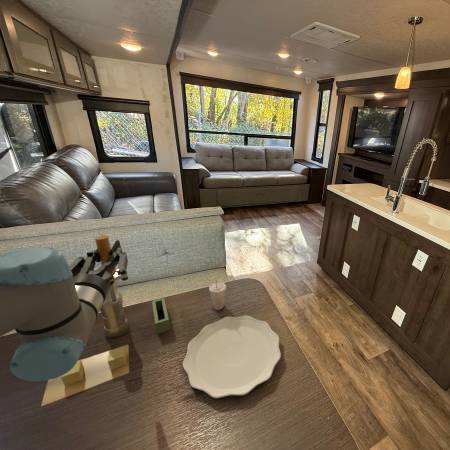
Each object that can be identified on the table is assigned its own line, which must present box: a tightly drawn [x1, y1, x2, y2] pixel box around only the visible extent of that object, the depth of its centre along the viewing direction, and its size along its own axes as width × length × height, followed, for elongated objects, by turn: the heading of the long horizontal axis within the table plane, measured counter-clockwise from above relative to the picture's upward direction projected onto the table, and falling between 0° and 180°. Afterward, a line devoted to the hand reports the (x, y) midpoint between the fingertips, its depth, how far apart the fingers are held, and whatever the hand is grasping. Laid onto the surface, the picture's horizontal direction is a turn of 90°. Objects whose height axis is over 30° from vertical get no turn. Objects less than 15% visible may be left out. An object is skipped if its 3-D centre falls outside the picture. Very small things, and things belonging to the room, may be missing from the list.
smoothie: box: [208, 277, 227, 311], centre depth 96 cm, size 6×6×14 cm
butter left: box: [61, 359, 84, 386], centre depth 67 cm, size 4×4×4 cm
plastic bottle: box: [100, 290, 130, 339], centre depth 79 cm, size 6×7×20 cm
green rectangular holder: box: [151, 297, 171, 335], centre depth 88 cm, size 12×4×6 cm, turn 33°
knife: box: [94, 234, 119, 302], centre depth 65 cm, size 8×3×17 cm, turn 32°
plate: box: [182, 315, 282, 399], centre depth 79 cm, size 29×29×2 cm
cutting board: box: [40, 344, 130, 408], centre depth 69 cm, size 11×18×2 cm, turn 123°
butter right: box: [108, 345, 126, 370], centre depth 72 cm, size 4×4×4 cm
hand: (111, 245), depth 68 cm, fingers closed on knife, 3 cm apart
